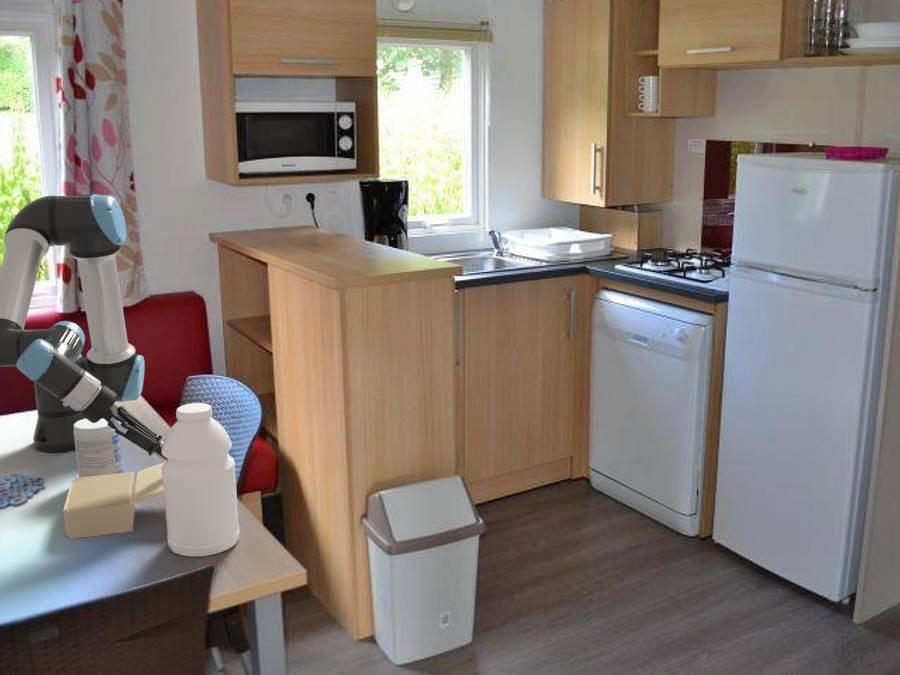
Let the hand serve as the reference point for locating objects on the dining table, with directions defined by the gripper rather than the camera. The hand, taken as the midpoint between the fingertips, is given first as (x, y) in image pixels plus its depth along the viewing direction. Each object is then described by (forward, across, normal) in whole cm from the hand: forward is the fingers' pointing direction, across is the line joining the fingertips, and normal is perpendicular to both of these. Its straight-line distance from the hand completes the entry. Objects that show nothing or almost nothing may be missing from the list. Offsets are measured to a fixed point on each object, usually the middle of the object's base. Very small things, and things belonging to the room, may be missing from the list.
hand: (181, 464), depth 202 cm
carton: (-5, 0, -18) cm, 19 cm away
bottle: (+9, +19, -6) cm, 22 cm away
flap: (-4, 0, -9) cm, 10 cm away
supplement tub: (-5, -21, -19) cm, 28 cm away
